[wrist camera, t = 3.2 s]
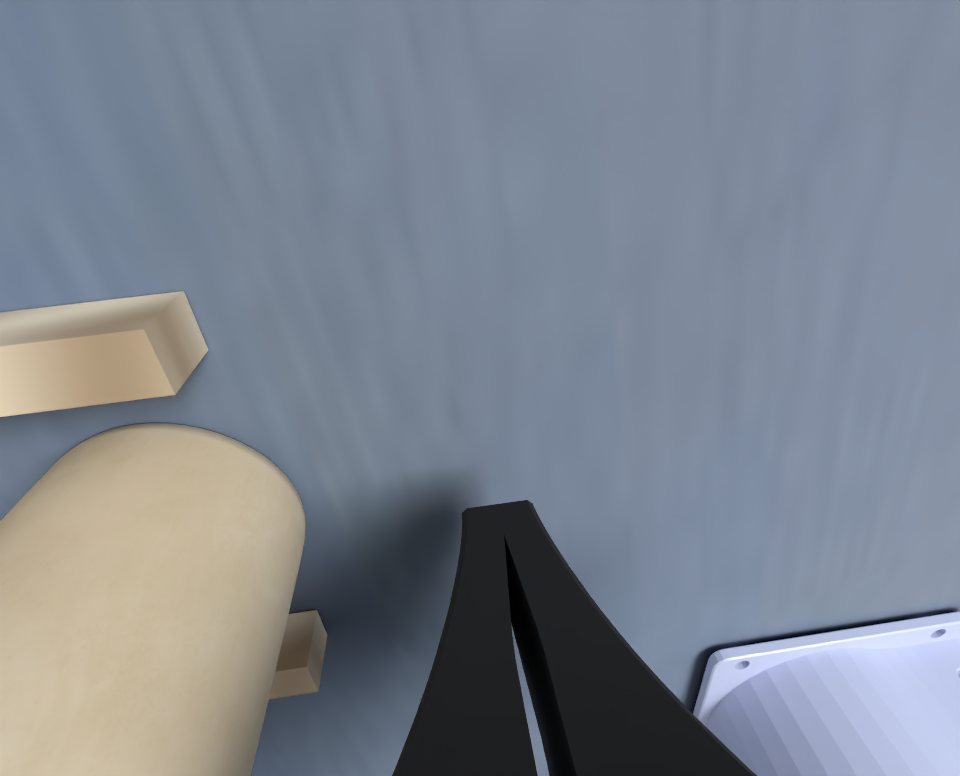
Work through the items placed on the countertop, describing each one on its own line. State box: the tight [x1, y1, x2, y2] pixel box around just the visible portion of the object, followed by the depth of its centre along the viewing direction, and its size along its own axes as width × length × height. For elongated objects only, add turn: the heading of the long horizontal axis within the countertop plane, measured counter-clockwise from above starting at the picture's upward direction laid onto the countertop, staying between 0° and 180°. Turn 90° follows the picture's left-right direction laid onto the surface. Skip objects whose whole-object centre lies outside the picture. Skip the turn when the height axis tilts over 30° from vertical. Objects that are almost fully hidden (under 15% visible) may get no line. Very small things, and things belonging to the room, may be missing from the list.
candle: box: [0, 423, 306, 776], centre depth 8 cm, size 6×6×10 cm
